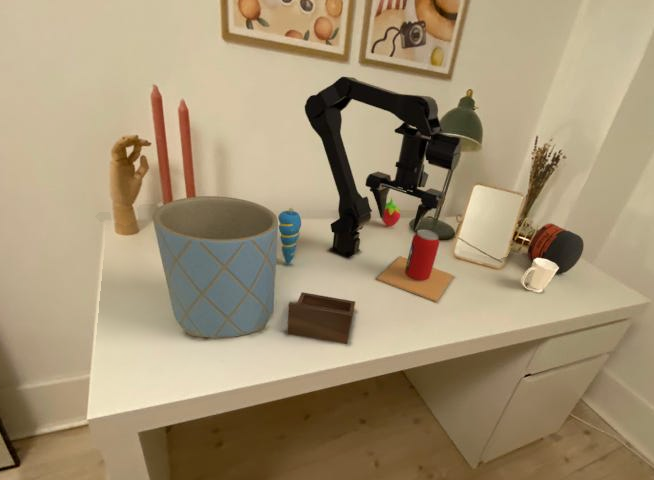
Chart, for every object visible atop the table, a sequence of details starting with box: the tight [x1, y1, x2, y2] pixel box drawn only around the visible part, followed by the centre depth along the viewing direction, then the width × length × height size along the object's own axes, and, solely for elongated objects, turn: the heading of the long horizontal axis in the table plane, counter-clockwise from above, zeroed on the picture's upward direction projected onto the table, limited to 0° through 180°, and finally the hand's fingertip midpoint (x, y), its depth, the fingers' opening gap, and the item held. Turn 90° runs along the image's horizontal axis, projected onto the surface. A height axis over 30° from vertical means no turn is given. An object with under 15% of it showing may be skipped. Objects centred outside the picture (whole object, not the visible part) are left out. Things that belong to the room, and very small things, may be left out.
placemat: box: [377, 256, 454, 303], centre depth 100 cm, size 16×16×1 cm
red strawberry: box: [381, 196, 401, 227], centre depth 123 cm, size 6×7×10 cm
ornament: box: [277, 206, 302, 266], centre depth 89 cm, size 5×5×15 cm
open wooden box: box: [287, 291, 356, 345], centre depth 75 cm, size 12×12×7 cm
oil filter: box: [527, 222, 585, 275], centre depth 118 cm, size 13×12×13 cm
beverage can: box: [405, 229, 440, 281], centre depth 96 cm, size 7×7×12 cm
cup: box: [520, 258, 559, 293], centre depth 104 cm, size 7×10×8 cm
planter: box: [152, 195, 279, 339], centre depth 68 cm, size 19×19×20 cm
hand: (398, 223), depth 94 cm, fingers open, 9 cm apart
